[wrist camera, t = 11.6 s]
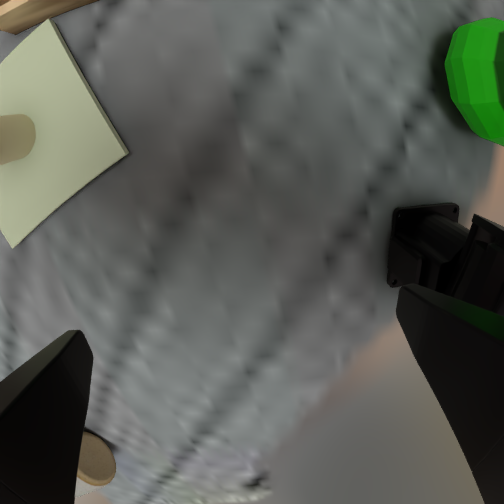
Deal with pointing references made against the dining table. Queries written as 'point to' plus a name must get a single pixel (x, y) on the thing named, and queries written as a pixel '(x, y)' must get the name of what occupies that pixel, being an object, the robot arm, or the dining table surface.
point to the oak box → (33, 12)
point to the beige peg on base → (47, 132)
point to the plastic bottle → (478, 76)
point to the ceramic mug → (94, 465)
